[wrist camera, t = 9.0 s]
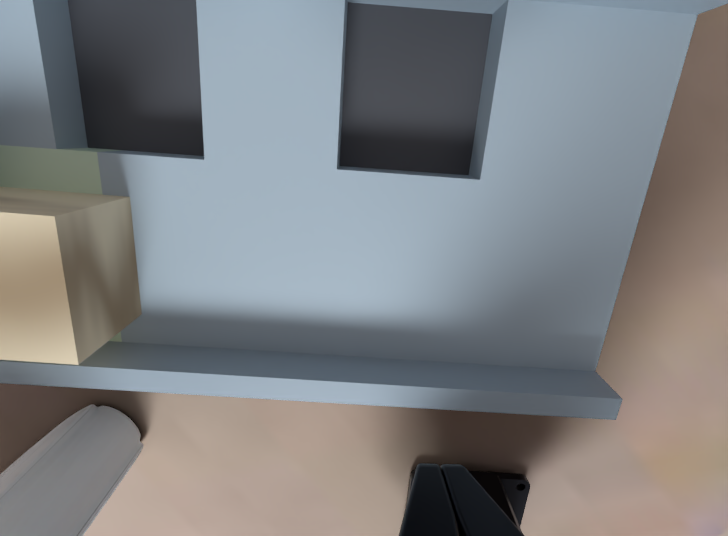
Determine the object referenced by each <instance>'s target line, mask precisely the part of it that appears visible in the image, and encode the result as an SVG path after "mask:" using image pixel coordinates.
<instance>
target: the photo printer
mask: <svg viewBox="0 0 728 536" xmlns="http://www.w3.org/2000/svg"><path fill="white" fill-rule="evenodd" d="M140 437H141V435H140V432H139V430H138V428H137V426H136V425H135V424H134V422H133V421H132V420H131V419H130V418H129V417H127V416H126V415H125V414H123V413H122V412H120V411H118V410H116V409H114V408H111V407H108V406H100V407H96V406H95V405H94V404H91V405H89V406H87V407H85V408H83V409H81V410H79V411H78V412H76V413H75V414H73V415H72V416H70V417H69V418H67V419H66V420H64V421H63V422H62V423H61V424H59V425H58V426H57V427H55V428H54V429H53V430H52V431H50V432H49V433H48V434H47V435H46V436H44V437H43V438H42V439H41V440H40V441H38V442H37V443H36V444H35V445H33V446H32V447H31V448H30V449H29V450H27V451H26V452H25V453H24V454H23V455H22V456H20V457H19V458H18V459H17V460H16V461H15V462H14V463H12V464H11V465H10V466H9V467H8V468H7V469H6V470H5V471H3V472H2V473H1V474H0V536H83V535H84V533H85V532H86V531H87V529H88V528H89V526H90V525H91V524H92V522H93V521H94V519H95V518H96V516H97V515H98V514H99V512H100V511H101V509H102V508H103V507H104V505H105V504H106V502H107V501H108V499H109V498H110V496H111V495H112V494H113V492H114V491H115V489H116V488H117V486H118V485H119V484H120V482H121V481H122V479H123V478H124V476H125V475H126V474H127V472H128V471H129V469H130V468H131V466H132V465H133V463H134V462H135V460H136V459H137V457H138V455H139V454H140V452H141V450H142V448H143V443H141V442H140Z"/></svg>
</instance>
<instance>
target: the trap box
mask: <svg viewBox="0 0 728 536" xmlns="http://www.w3.org/2000/svg"><path fill="white" fill-rule="evenodd" d="M725 4H728V0H0V187H12V188H25V189H38V190H50V191H63V192H76V193H88V194H101V195H114V196H126V197H130V203H131V213H132V222H133V232H134V242H135V252H136V262H137V272H138V282H139V292H140V301H141V311H142V314H141V315H140V316H139V317H138V318H136V319H135V320H134V321H133V322H131V323H130V324H129V325H128V326H126V327H125V328H124V329H123V330H121V331H120V332H119V333H118V334H117V335H115V336H114V337H113V338H112V339H110V340H109V341H108V342H107V343H105V344H104V345H103V346H102V347H100V348H99V349H98V350H97V351H95V352H94V353H93V354H92V355H90V356H89V357H88V358H87V359H85V360H84V361H83V362H82V363H80V364H79V365H73V364H58V363H43V362H29V361H14V360H0V383H7V384H23V385H40V386H57V387H74V388H90V389H107V390H124V391H141V392H157V393H174V394H191V395H208V396H224V397H241V398H258V399H275V400H292V401H308V402H325V403H342V404H359V405H375V406H392V407H409V408H426V409H442V410H459V411H476V412H493V413H510V414H526V415H543V416H560V417H577V418H593V419H610V420H616V418H617V415H618V412H619V408H620V405H621V402H622V398H621V397H620V396H619V395H618V394H617V393H616V392H615V391H614V390H613V389H612V388H611V387H610V386H609V385H608V384H607V383H606V382H605V381H604V380H603V379H602V378H601V377H600V376H599V375H598V374H597V373H596V372H595V371H596V367H597V364H598V360H599V357H600V353H601V350H602V346H603V343H604V339H605V336H606V332H607V329H608V325H609V322H610V318H611V315H612V311H613V308H614V304H615V301H616V297H617V294H618V290H619V287H620V284H621V280H622V277H623V273H624V270H625V266H626V263H627V259H628V256H629V252H630V249H631V245H632V242H633V238H634V235H635V231H636V228H637V224H638V221H639V217H640V214H641V210H642V207H643V203H644V200H645V197H646V193H647V190H648V186H649V183H650V179H651V176H652V172H653V169H654V165H655V162H656V158H657V155H658V151H659V148H660V144H661V141H662V137H663V134H664V130H665V127H666V123H667V120H668V116H669V113H670V109H671V106H672V103H673V99H674V96H675V92H676V89H677V85H678V82H679V78H680V75H681V71H682V68H683V64H684V61H685V57H686V54H687V50H688V47H689V43H690V40H691V36H692V33H693V29H694V26H695V22H696V19H697V16H698V14H700V13H703V12H706V11H708V10H711V9H714V8H717V7H719V6H722V5H725Z"/></svg>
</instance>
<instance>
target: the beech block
mask: <svg viewBox="0 0 728 536" xmlns="http://www.w3.org/2000/svg"><path fill="white" fill-rule="evenodd" d="M141 314H142V311H141V301H140V292H139V282H138V272H137V262H136V252H135V242H134V232H133V222H132V213H131V203H130V197H126V196H114V195H101V194H88V193H76V192H63V191H50V190H38V189H25V188H12V187H0V360H14V361H29V362H43V363H58V364H73V365H79V364H80V363H82V362H83V361H84V360H85V359H87V358H88V357H89V356H90V355H92V354H93V353H94V352H95V351H97V350H98V349H99V348H100V347H102V346H103V345H104V344H105V343H107V342H108V341H109V340H110V339H112V338H113V337H114V336H115V335H117V334H118V333H119V332H120V331H121V330H123V329H124V328H125V327H126V326H128V325H129V324H130V323H131V322H133V321H134V320H135V319H136V318H138V317H139V316H140V315H141Z"/></svg>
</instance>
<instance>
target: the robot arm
mask: <svg viewBox="0 0 728 536" xmlns="http://www.w3.org/2000/svg"><path fill="white" fill-rule="evenodd" d="M518 484H520V485H518ZM529 489H530V484H529V482H528V480H527V478H526V476H524V475H522V474H510V473H492V472H474V471H468V470H467V469H466V468H465V467H464V466H462V465H458V464H443V465H441V466H439V465H438V464H424V463H420V464H418V465H417V467H416V469H415V470H413V471H412V472H411V475H410V482H409V489H408V497H407V504H406V510H405V514H404V518H403V521H402V525H401V529H400V533H399V536H524V535H523V533H522V531H521V529H520V524H521V521H522V517H523V513H524V509H525V505H526V501H527V497H528V493H529Z"/></svg>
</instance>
